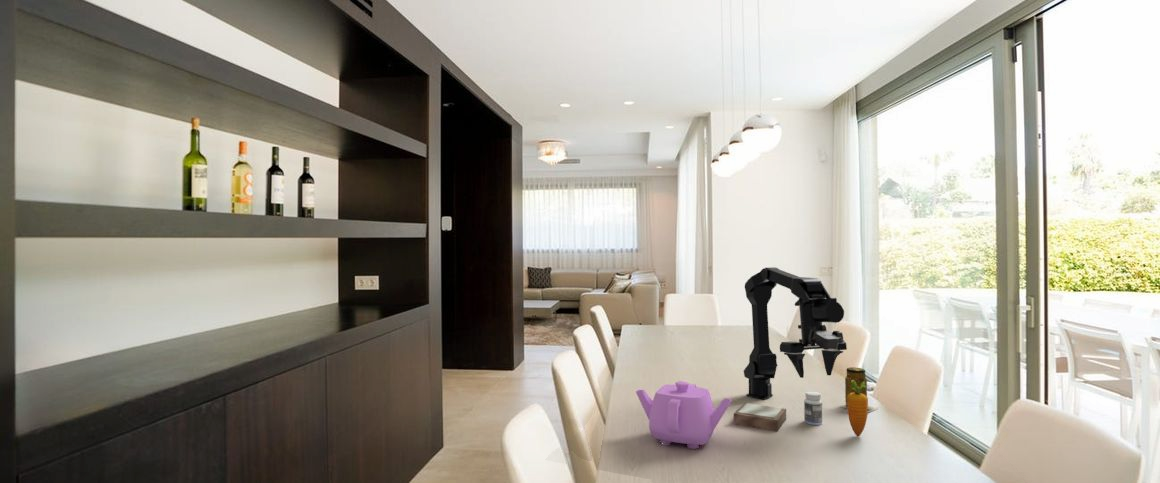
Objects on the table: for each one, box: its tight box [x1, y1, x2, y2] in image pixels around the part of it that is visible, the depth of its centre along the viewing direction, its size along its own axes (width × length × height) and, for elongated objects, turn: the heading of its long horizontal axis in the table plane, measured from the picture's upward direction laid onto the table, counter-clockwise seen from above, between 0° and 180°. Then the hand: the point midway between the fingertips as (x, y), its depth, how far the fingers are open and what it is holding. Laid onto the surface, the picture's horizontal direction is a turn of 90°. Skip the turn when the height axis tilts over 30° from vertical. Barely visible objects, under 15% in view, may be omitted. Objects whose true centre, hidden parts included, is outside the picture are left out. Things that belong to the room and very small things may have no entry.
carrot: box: [846, 380, 869, 437], centre depth 141 cm, size 5×5×15 cm
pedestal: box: [733, 402, 787, 432], centre depth 154 cm, size 12×12×3 cm
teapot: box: [635, 380, 732, 450], centre depth 140 cm, size 19×18×15 cm
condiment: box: [840, 366, 879, 413], centre depth 166 cm, size 7×8×12 cm
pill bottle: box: [803, 390, 823, 426], centre depth 153 cm, size 5×5×8 cm
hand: (815, 376), depth 153 cm, fingers open, 9 cm apart
